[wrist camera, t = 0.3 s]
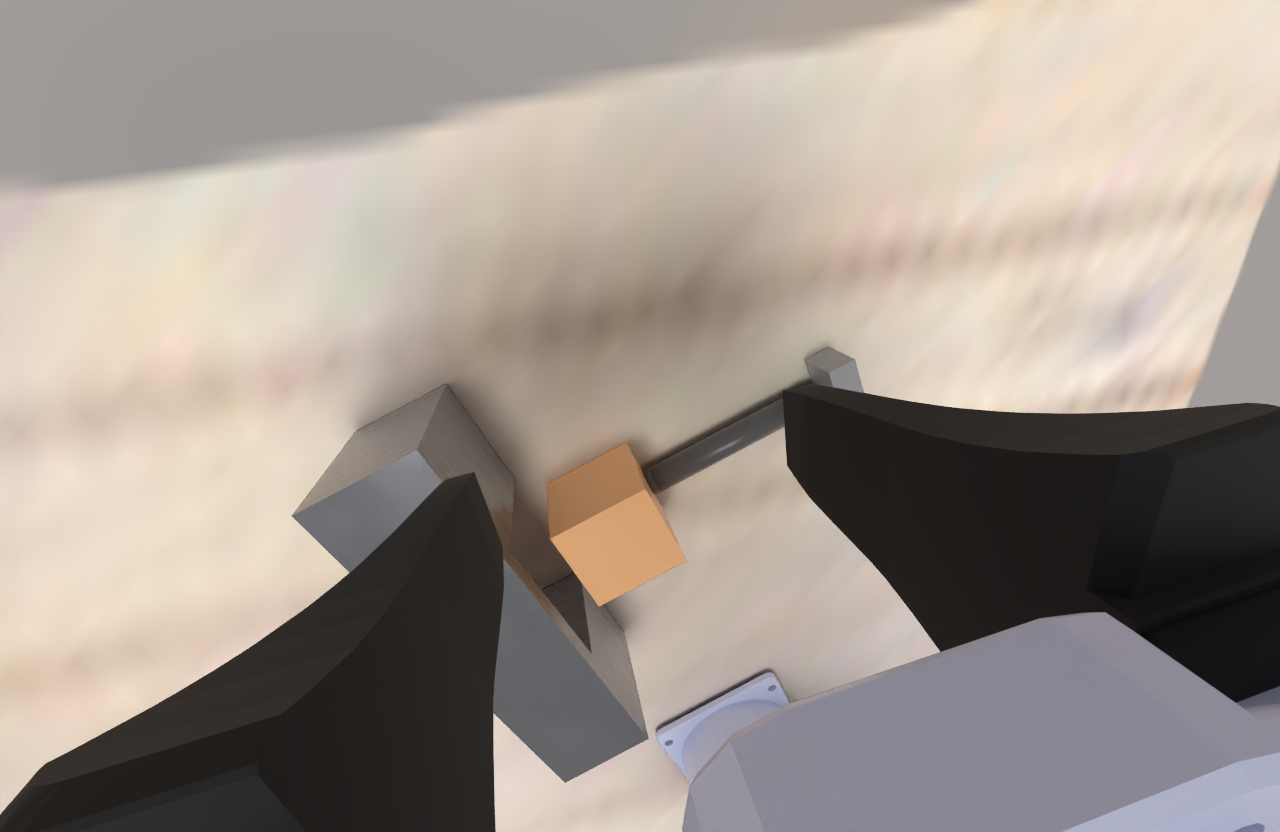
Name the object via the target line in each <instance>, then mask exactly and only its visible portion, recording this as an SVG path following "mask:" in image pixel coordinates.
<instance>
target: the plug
mask: <svg viewBox="0 0 1280 832" xmlns="http://www.w3.org/2000/svg"><path fill="white" fill-rule="evenodd" d="M805 362H806V365H807V368H808V371H809V374H810V377H811V381H812V384H808V385H821V386H828V387H834V388H840V389H846V390H851V391H856V392H861V393H864V392H863V388H862V384H861V381H860V377H859V373H858V370H857V366H856V362H855V359H853V358H851V357H849V356H847V355H845V354H842V353H840V352H838V351H836V350H834V349H832V348H830V347H827V348H825V349H823V350H821V351H819V352H817V353H815V354H813V355H812V356H810V357H808V358H806V359H805ZM783 427H785V423H784V408H783V397H782V398H780V399H778V400H776V401H774V402H773V403H771V404H769V405H767V406H765V407H763V408H761V409H759V410H757V411H755V412H754V413H752V414H750V415H748V416H746V417H744V418H742V419H740V420H738V421H736V422H735V423H733V424H731V425H729V426H727V427H725V428H723V429H721V430H719V431H718V432H716V433H714V434H712V435H710V436H708V437H706V438H704V439H702V440H700V441H699V442H697V443H695V444H693V445H691V446H689V447H687V448H685V449H683V450H681V451H680V452H678V453H676V454H674V455H672V456H670V457H668V458H666V459H664V460H663V461H661V462H659V463H657V464H655V465H653V466H651V467H649V468H647V469H646V470H645V471H644V472H642V470H641V468H640V466H639V464H638V463H637V461H636V459H635V457H634V455H633V454H632V452H631V450H630V448H629V446H628V445H627V443H624V444H622V445H620V446H618V447H616V448H614V449H612V450H610V451H609V452H607V453H605V454H603V455H601V456H599V457H597V458H595V459H593V460H592V461H590V462H588V463H586V464H584V465H582V466H580V467H578V468H576V469H574V470H573V471H571V472H569V473H567V474H565V475H563V476H561V477H559V478H557V479H556V480H554V481H552V482H550V483H548V484H546V487H547V501H548V516H549V531H550V540H551V541H552V542H553V544H554V545H555V547H556V548H557V549H558V551H559V552H560V553H561V555H562V556H563V558H564V559H565V560H566V562H567V563H568V564H569V566H570V567H571V569H572V570H573V571H574V573H575V574H576V576H577V577H578V578H579V580H580V581H581V582H582V584H583V585H584V587H585V588H586V589H587V591H588V592H589V593H590V595H591V596H592V598H593V599H594V600H595V602H596V603H597V605H598V606H599V607H600V606H601V605H603V604H605V603H607V602H609V601H611V600H613V599H615V598H617V597H619V596H620V595H622V594H624V593H626V592H628V591H630V590H632V589H634V588H636V587H637V586H639V585H641V584H643V583H645V582H647V581H649V580H651V579H653V578H655V577H656V576H658V575H660V574H662V573H664V572H666V571H668V570H670V569H672V568H674V567H675V566H677V565H679V564H681V563H683V562H685V561H686V559H685V557H684V555H683V552H682V550H681V548H680V546H679V543H678V541H677V539H676V537H675V534H674V532H673V530H672V528H671V526H670V523H669V521H668V519H667V517H666V514H665V512H664V510H663V508H662V506H661V504H660V502H659V500H658V498H657V497H656V495H655V494H656V493H659V492H661V491H663V490H665V489H667V488H669V487H671V486H673V485H675V484H677V483H679V482H680V481H682V480H684V479H686V478H688V477H690V476H692V475H694V474H696V473H698V472H699V471H701V470H703V469H705V468H707V467H709V466H711V465H713V464H715V463H716V462H718V461H720V460H722V459H724V458H726V457H728V456H730V455H732V454H734V453H735V452H737V451H739V450H741V449H743V448H745V447H747V446H749V445H751V444H753V443H754V442H756V441H758V440H760V439H762V438H764V437H766V436H768V435H770V434H772V433H773V432H775V431H777V430H779V429H781V428H783Z"/></svg>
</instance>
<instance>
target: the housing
mask: <svg viewBox="0 0 1280 832" xmlns="http://www.w3.org/2000/svg"><path fill="white" fill-rule="evenodd" d="M472 472H475V475H476V478H477V480H478V483H479V485H480V488H481V491H482V493H483V496H484V499H485V501H486V504H487V506H488V509H489V512H490V514H491V517H492V519H493V522H494V525H495V527H496V530H497V533H498V535H499V538H500V540H501V543H502V546H503V564H504V593H503V604H502V614H501V624H500V633H499V642H498V652H497V661H496V671H495V681H494V698H493V713H494V714H495V715H496V716H497V717H498V718H499V719H500V720H501V721H502V722H503V723H504V724H505V725H506V726H508V727H509V728H510V729H511V730H512V731H513V732H514V733H515V734H516V735H517V736H518V737H519V738H520V739H521V740H522V741H523V742H524V743H525V744H526V745H527V746H528V747H529V748H530V749H531V750H532V751H533V752H534V753H535V754H536V755H537V756H538V757H539V758H540V759H541V760H542V761H543V762H544V763H545V764H546V765H547V766H549V767H550V768H551V769H552V770H553V771H554V772H555V773H556V774H557V775H558V776H559V777H560V778H561V779H562V780H563V781H564V782H565V783H566V782H567V781H569V780H571V779H573V778H575V777H577V776H579V775H581V774H583V773H584V772H586V771H588V770H590V769H592V768H594V767H596V766H598V765H600V764H601V763H603V762H605V761H607V760H609V759H611V758H613V757H615V756H617V755H618V754H620V753H622V752H624V751H626V750H628V749H630V748H632V747H634V746H635V745H637V744H639V743H641V742H643V741H645V740H647V739H648V735H647V730H646V726H645V721H644V717H643V713H642V708H641V704H640V699H639V695H638V691H637V686H636V682H635V677H634V673H633V669H632V664H631V660H630V656H629V651H628V647H627V642H626V638H625V634H624V631H623V630H622V629H621V627H620V626H619V624H618V623H617V622H616V620H615V619H614V617H613V616H612V615H611V613H610V612H609V610H608V609H607V608H606V606H605V605H604V604H603V605H601V606H600V607H599V606H598V605H597V603H596V602H595V600H594V599H593V598H592V596H591V595H590V593H589V592H588V591H587V589H586V588H585V587H584V585H583V584H582V582H581V581H580V580H579V578H578V577H577V576H576V574H575V573H573V574H572V575H570V576H568V577H566V578H564V579H562V580H560V581H558V582H556V583H554V584H553V585H551V586H549V587H547V588H545V589H543V590H541V589H540V588H539V586H538V585H537V584H536V583H535V581H534V580H533V579H532V577H531V576H530V575H529V574H528V572H527V571H526V570H525V569H524V567H523V566H522V565H521V563H520V562H519V561H518V560H517V558H516V557H515V556H514V555H513V553H512V552H511V543H512V521H513V499H514V477H513V476H512V475H511V473H510V472H509V470H508V469H507V468H506V466H505V465H504V463H503V462H502V461H501V459H500V458H499V456H498V455H497V454H496V452H495V451H494V449H493V448H492V447H491V445H490V444H489V442H488V441H487V440H486V438H485V437H484V435H483V434H482V433H481V431H480V430H479V428H478V427H477V426H476V424H475V423H474V422H473V420H472V419H471V417H470V416H469V415H468V413H467V412H466V410H465V409H464V408H463V406H462V405H461V403H460V402H459V401H458V399H457V398H456V396H455V395H454V394H453V392H452V391H451V389H450V388H449V387H448V385H447V384H445V385H443V386H441V387H439V388H437V389H435V390H433V391H431V392H429V393H428V394H426V395H424V396H422V397H420V398H418V399H416V400H414V401H412V402H410V403H409V404H407V405H405V406H403V407H401V408H399V409H397V410H395V411H393V412H391V413H390V414H388V415H386V416H384V417H382V418H380V419H378V420H376V421H374V422H373V423H371V424H369V425H367V426H365V427H363V428H361V429H359V430H357V431H355V433H354V434H353V435H352V437H351V438H350V439H349V441H348V442H347V443H346V445H345V446H344V447H343V449H342V450H341V451H340V453H339V454H338V455H337V457H336V458H335V459H334V461H333V462H332V463H331V465H330V466H329V467H328V469H327V470H326V471H325V472H324V474H323V475H322V476H321V478H320V479H319V480H318V482H317V483H316V484H315V486H314V487H313V488H312V490H311V491H310V492H309V494H308V495H307V496H306V498H305V499H304V500H303V502H302V503H301V504H300V506H299V507H298V508H297V510H296V511H295V512H294V514H293V515H292V517H293V518H294V519H295V520H296V521H297V522H298V523H299V524H300V525H302V526H303V527H304V528H305V529H306V530H307V531H308V532H309V533H310V534H311V535H312V536H313V537H314V538H315V539H316V540H317V541H318V542H319V543H320V544H321V545H322V546H323V547H324V548H325V549H326V550H327V551H328V552H329V553H330V554H331V555H332V556H333V557H334V558H335V559H336V560H337V561H338V562H339V563H340V564H341V565H343V566H344V567H345V568H346V569H347V570H348V571H349V572H351V571H352V570H354V569H355V568H356V567H357V566H358V565H359V564H360V563H361V562H362V561H363V560H365V559H366V558H367V557H368V556H369V555H370V554H371V553H372V552H373V551H374V550H375V549H376V548H377V547H378V546H379V545H380V544H381V543H382V542H383V541H384V540H386V539H387V538H388V537H389V536H390V535H391V534H392V533H393V532H394V531H395V530H396V529H397V528H398V527H399V526H400V525H401V524H402V523H403V522H404V521H405V520H406V518H407V517H408V516H409V515H410V514H411V513H412V512H413V511H414V510H415V509H416V508H417V507H418V506H419V505H420V504H421V503H422V502H423V501H424V500H425V499H426V498H427V497H428V496H429V495H430V494H431V493H432V492H433V490H434V489H436V488H437V487H438V486H439V485H440V484H441V483H442V482H443V481H445V480H446V479H449V478H453V477H456V476H460V475H464V474H468V473H472Z"/></svg>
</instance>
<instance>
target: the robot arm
mask: <svg viewBox="0 0 1280 832" xmlns="http://www.w3.org/2000/svg"><path fill="white" fill-rule="evenodd" d="M782 393H783V408H784V423H785V438H786V453H787V466H788V467H789V469H790V470H791V472H792V473H793V475H794V476H795V478H796V479H797V481H798V482H799V484H800V485H801V486H802V488H803V489H804V490H805V492H806V493H807V495H808V496H809V497H810V498H811V499H812V500H813V502H814V503H815V504H816V505H817V506H818V507H819V508H820V509H821V510H822V511H823V512H824V513H825V514H826V515H827V516H828V518H829V519H830V520H831V521H832V522H833V523H834V524H835V525H836V526H837V527H838V528H839V529H840V530H841V531H842V532H843V533H844V534H845V535H846V536H847V537H848V538H849V539H850V540H851V541H852V543H853V544H854V545H855V546H856V547H857V548H858V549H859V550H860V551H861V552H862V553H863V554H864V555H865V556H866V557H867V558H868V559H869V560H870V561H871V562H872V563H873V565H874V566H875V567H876V568H877V569H878V570H879V571H880V573H881V574H882V575H883V576H884V577H885V578H886V579H887V581H888V582H889V583H890V585H891V586H892V587H893V589H894V590H895V591H896V592H897V594H898V595H899V596H900V598H901V599H902V600H903V601H904V603H905V604H906V605H907V607H908V608H909V609H910V611H911V612H912V613H913V614H914V616H915V617H916V619H917V620H918V621H919V623H920V624H921V625H922V627H923V628H924V630H925V631H926V632H927V634H928V635H929V636H930V638H931V639H932V641H933V642H934V643H935V645H936V646H937V647H938V649H939V650H940V652H939V653H936V654H933V655H930V656H928V657H925V658H922V659H919V660H916V661H913V662H910V663H907V664H904V665H901V666H898V667H895V668H892V669H889V670H886V671H883V672H881V673H878V674H875V675H872V676H869V677H866V678H863V679H860V680H857V681H854V682H851V683H848V684H845V685H842V686H839V687H836V688H833V689H831V690H828V691H825V692H822V693H819V694H816V695H813V696H810V697H807V698H804V699H801V700H798V701H795V702H792V703H789V701H788V699H787V697H786V695H785V694H784V692H783V690H782V688H781V686H780V684H779V682H778V680H777V678H776V677H775V675H774V674H773V673H771V672H767V673H764V674H763V675H761V676H759V677H757V678H755V679H753V680H751V681H749V682H747V683H746V684H744V685H742V686H740V687H738V688H736V689H734V690H732V691H730V692H729V693H727V694H725V695H723V696H721V697H719V698H717V699H715V700H713V701H712V702H710V703H708V704H706V705H704V706H702V707H700V708H698V709H696V710H695V711H693V712H691V713H689V714H687V715H685V716H683V717H681V718H680V719H678V720H676V721H674V722H672V723H670V724H668V725H666V726H664V727H663V728H661V729H659V730H658V731H657V733H656V737H657V741H658V742H659V744H660V745H661V746H662V748H663V749H664V750H665V751H666V753H667V754H668V755H669V756H670V758H671V759H672V760H673V761H674V763H675V764H676V765H677V766H678V768H679V769H680V770H681V772H682V773H683V774H684V775H685V777H686V778H687V779H688V782H689V785H690V787H689V793H688V798H687V804H686V810H685V816H684V822H683V827H682V831H683V832H1280V407H1278V406H1274V405H1268V404H1258V403H1242V404H1230V405H1219V406H1207V407H1195V408H1184V409H1172V410H1161V411H1145V412H1120V413H1088V414H1052V413H1015V412H997V411H985V410H973V409H961V408H952V407H944V406H937V405H930V404H923V403H917V402H910V401H904V400H899V399H893V398H887V397H882V396H877V395H872V394H866V393H861V392H856V391H851V390H846V389H840V388H834V387H828V386H821V385H808V384H807V385H803V386H799V387H795V388H791V389H787V390H784V391H782ZM503 593H504V564H503V546H502V543H501V540H500V538H499V535H498V533H497V530H496V527H495V525H494V522H493V519H492V517H491V514H490V512H489V509H488V506H487V504H486V501H485V499H484V496H483V493H482V491H481V488H480V485H479V483H478V480H477V478H476V475H475V472H472V473H468V474H464V475H460V476H456V477H453V478H449V479H446V480H445V481H443V482H442V483H441V484H440V485H439V486H438V487H437V488H436V489H434V490H433V492H432V493H431V494H430V495H429V496H428V497H427V498H426V499H425V500H424V501H423V502H422V503H421V504H420V505H419V506H418V507H417V508H416V509H415V510H414V511H413V512H412V513H411V514H410V515H409V516H408V517H407V518H406V520H405V521H404V522H403V523H402V524H401V525H400V526H399V527H398V528H397V529H396V530H395V531H394V532H393V533H392V534H391V535H390V536H389V537H388V538H387V539H386V540H384V541H383V542H382V543H381V544H380V545H379V546H378V547H377V548H376V549H375V550H374V551H373V552H372V553H371V554H370V555H369V556H368V557H367V558H366V559H365V560H363V561H362V562H361V563H360V564H359V565H358V566H357V567H356V568H355V569H354V570H352V571H351V572H350V573H349V574H348V575H347V576H345V577H344V578H343V579H342V580H341V581H340V582H338V583H337V584H336V585H335V586H333V587H332V588H331V589H330V590H328V591H327V592H326V593H325V594H323V595H322V596H321V597H320V598H318V599H317V600H316V601H315V602H313V603H312V604H311V605H309V606H308V607H307V608H306V609H304V610H303V611H301V612H300V613H299V614H297V615H296V616H294V617H293V618H291V619H290V620H289V621H287V622H286V623H284V624H283V625H282V626H280V627H279V628H277V629H276V630H274V631H273V632H272V633H270V634H269V635H267V636H266V637H264V638H263V639H262V640H260V641H259V642H257V643H256V644H254V645H253V646H252V647H250V648H249V649H247V650H246V651H244V652H242V653H241V654H239V655H238V656H236V657H235V658H233V659H231V660H230V661H228V662H227V663H225V664H224V665H222V666H220V667H219V668H217V669H216V670H214V671H212V672H211V673H209V674H207V675H206V676H204V677H202V678H201V679H199V680H197V681H196V682H194V683H192V684H191V685H189V686H187V687H186V688H184V689H182V690H181V691H179V692H177V693H176V694H174V695H172V696H170V697H169V698H167V699H165V700H164V701H162V702H160V703H158V704H157V705H155V706H153V707H151V708H149V709H148V710H146V711H144V712H142V713H140V714H138V715H136V716H135V717H133V718H131V719H129V720H127V721H125V722H123V723H122V724H120V725H118V726H116V727H114V728H112V729H111V730H109V731H107V732H105V733H103V734H101V735H99V736H98V737H96V738H94V739H92V740H90V741H88V742H86V743H85V744H83V745H81V746H79V747H77V748H75V749H73V750H72V751H70V752H68V753H66V754H64V755H62V756H60V757H58V758H56V759H54V760H52V761H50V762H48V763H46V764H45V765H44V766H43V767H42V768H40V769H39V770H38V771H37V773H36V774H35V775H34V776H33V777H32V779H31V780H30V781H29V782H28V783H27V784H26V786H25V787H24V788H23V789H22V790H21V791H20V792H19V794H18V795H17V796H16V797H15V798H14V799H13V801H12V802H11V803H10V804H9V805H8V806H7V807H6V809H5V810H4V811H3V812H2V813H1V814H0V832H495V807H494V761H493V698H494V681H495V671H496V661H497V652H498V642H499V633H500V624H501V614H502V604H503Z"/></svg>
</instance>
